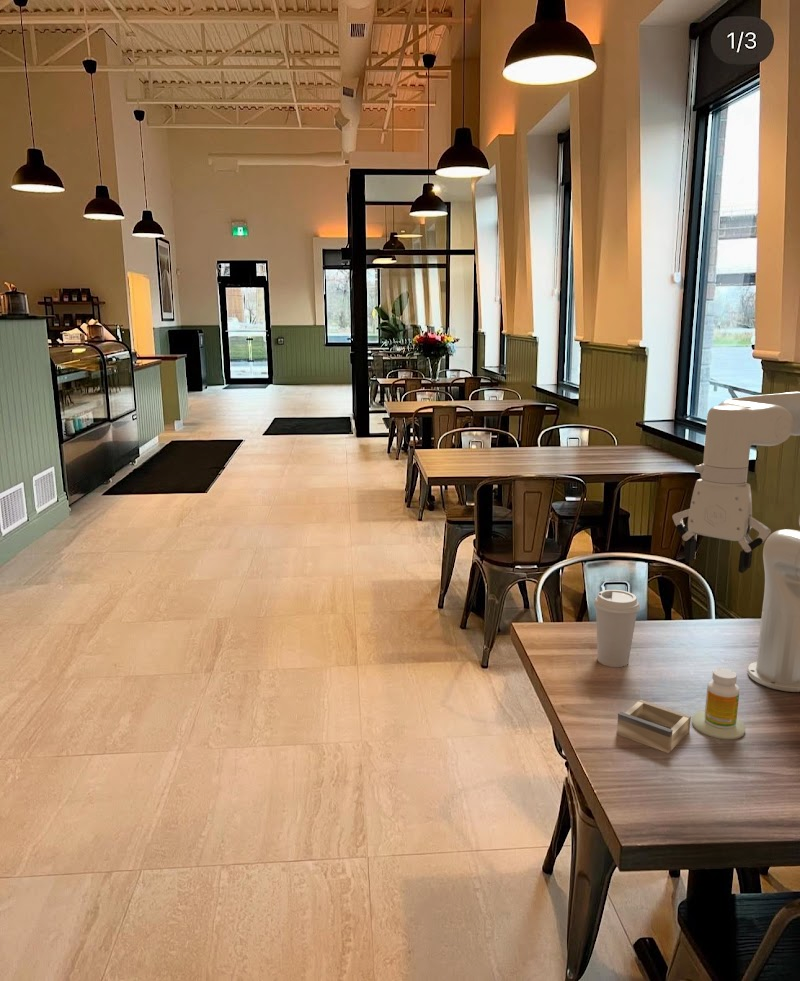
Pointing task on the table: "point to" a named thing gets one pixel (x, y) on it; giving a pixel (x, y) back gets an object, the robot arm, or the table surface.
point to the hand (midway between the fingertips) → (715, 565)
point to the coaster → (711, 731)
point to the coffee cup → (615, 626)
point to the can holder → (653, 725)
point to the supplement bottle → (722, 699)
